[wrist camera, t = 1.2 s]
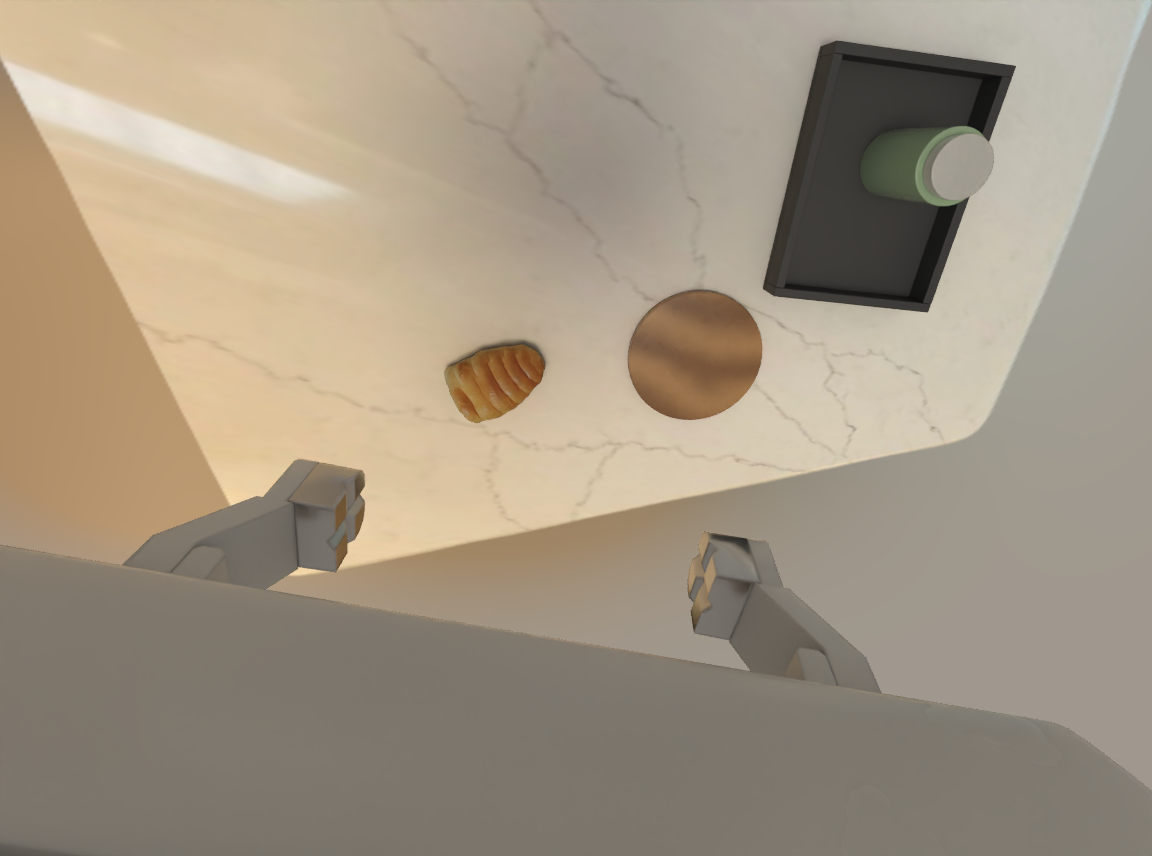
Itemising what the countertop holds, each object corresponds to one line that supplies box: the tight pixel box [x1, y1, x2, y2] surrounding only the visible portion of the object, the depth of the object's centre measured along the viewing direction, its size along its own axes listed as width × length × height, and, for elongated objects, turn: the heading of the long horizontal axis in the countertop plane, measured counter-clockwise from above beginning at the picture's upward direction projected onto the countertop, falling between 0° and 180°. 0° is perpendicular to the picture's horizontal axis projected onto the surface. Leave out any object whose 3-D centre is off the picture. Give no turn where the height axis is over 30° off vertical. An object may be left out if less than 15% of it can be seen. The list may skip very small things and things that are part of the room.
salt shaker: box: [860, 126, 994, 206], centre depth 48 cm, size 5×5×10 cm
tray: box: [763, 41, 1016, 312], centre depth 52 cm, size 20×15×3 cm
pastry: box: [444, 344, 545, 423], centre depth 58 cm, size 9×7×4 cm
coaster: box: [628, 290, 762, 420], centre depth 60 cm, size 13×13×1 cm
